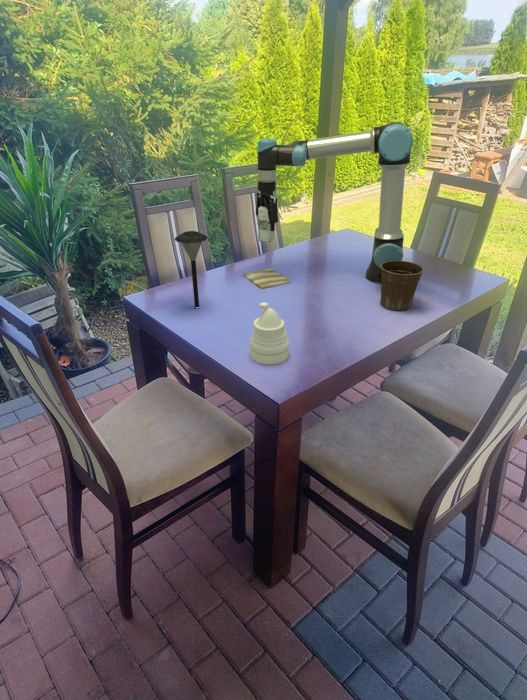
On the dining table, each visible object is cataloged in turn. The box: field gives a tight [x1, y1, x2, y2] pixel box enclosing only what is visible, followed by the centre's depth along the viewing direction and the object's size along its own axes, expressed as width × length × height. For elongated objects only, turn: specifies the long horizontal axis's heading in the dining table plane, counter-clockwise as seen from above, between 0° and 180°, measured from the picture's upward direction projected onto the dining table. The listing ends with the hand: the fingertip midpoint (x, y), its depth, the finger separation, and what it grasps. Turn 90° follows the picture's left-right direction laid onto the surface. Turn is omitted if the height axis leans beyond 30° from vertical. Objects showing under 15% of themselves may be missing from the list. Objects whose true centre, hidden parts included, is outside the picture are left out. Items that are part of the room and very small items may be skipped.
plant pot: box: [379, 260, 424, 312], centre depth 177 cm, size 16×16×16 cm
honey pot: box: [249, 301, 290, 366], centre depth 143 cm, size 13×13×18 cm
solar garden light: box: [174, 230, 209, 308], centre depth 170 cm, size 12×12×30 cm
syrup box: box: [257, 206, 275, 243], centre depth 191 cm, size 6×6×14 cm
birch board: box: [242, 268, 291, 290], centre depth 204 cm, size 18×15×1 cm
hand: (266, 235), depth 193 cm, fingers closed on syrup box, 8 cm apart
